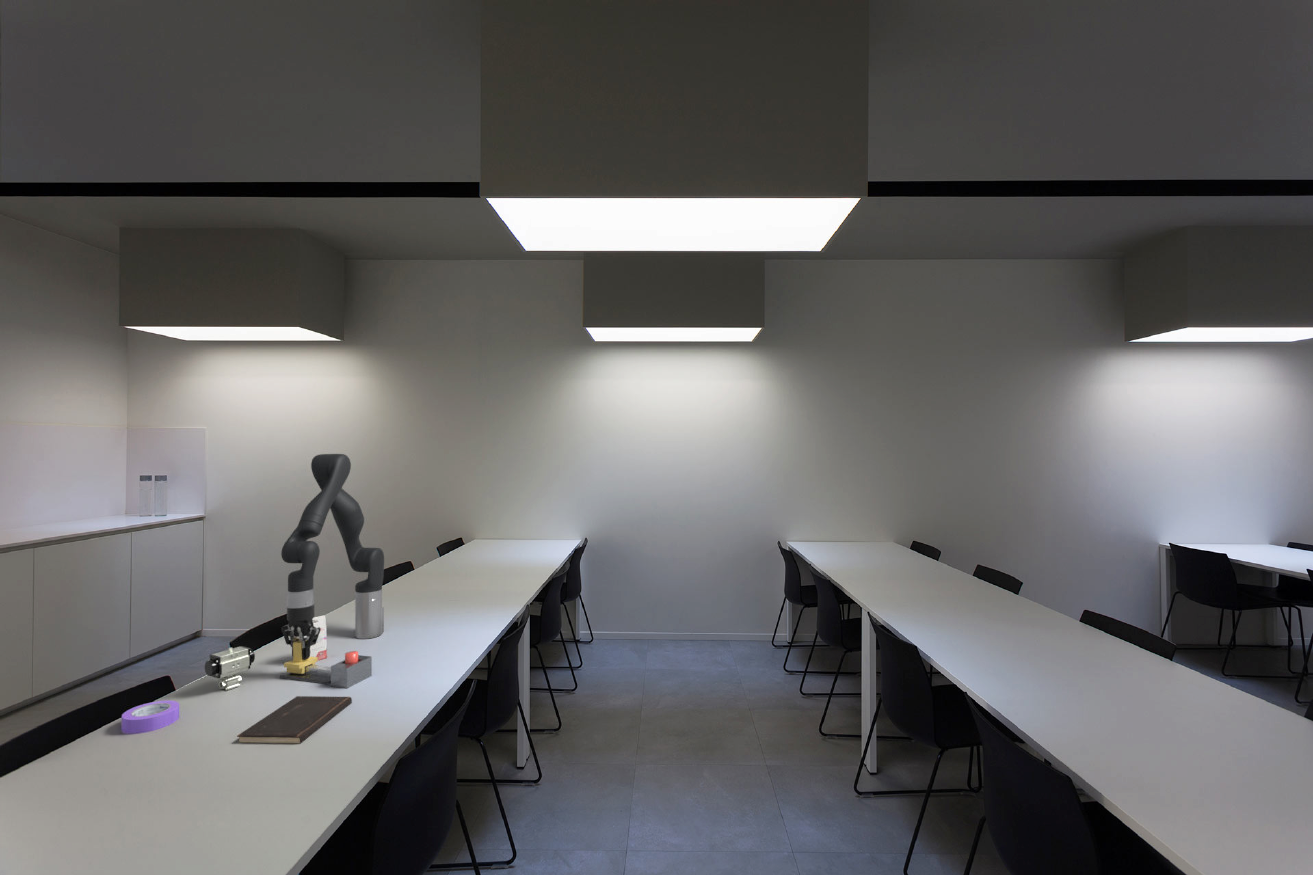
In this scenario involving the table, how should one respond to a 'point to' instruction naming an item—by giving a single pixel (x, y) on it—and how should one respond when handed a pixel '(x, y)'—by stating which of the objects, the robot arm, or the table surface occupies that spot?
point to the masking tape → (150, 717)
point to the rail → (311, 674)
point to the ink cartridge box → (319, 639)
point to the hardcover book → (295, 720)
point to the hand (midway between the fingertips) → (300, 658)
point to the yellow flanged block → (299, 660)
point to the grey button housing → (351, 672)
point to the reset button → (351, 657)
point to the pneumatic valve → (229, 666)
